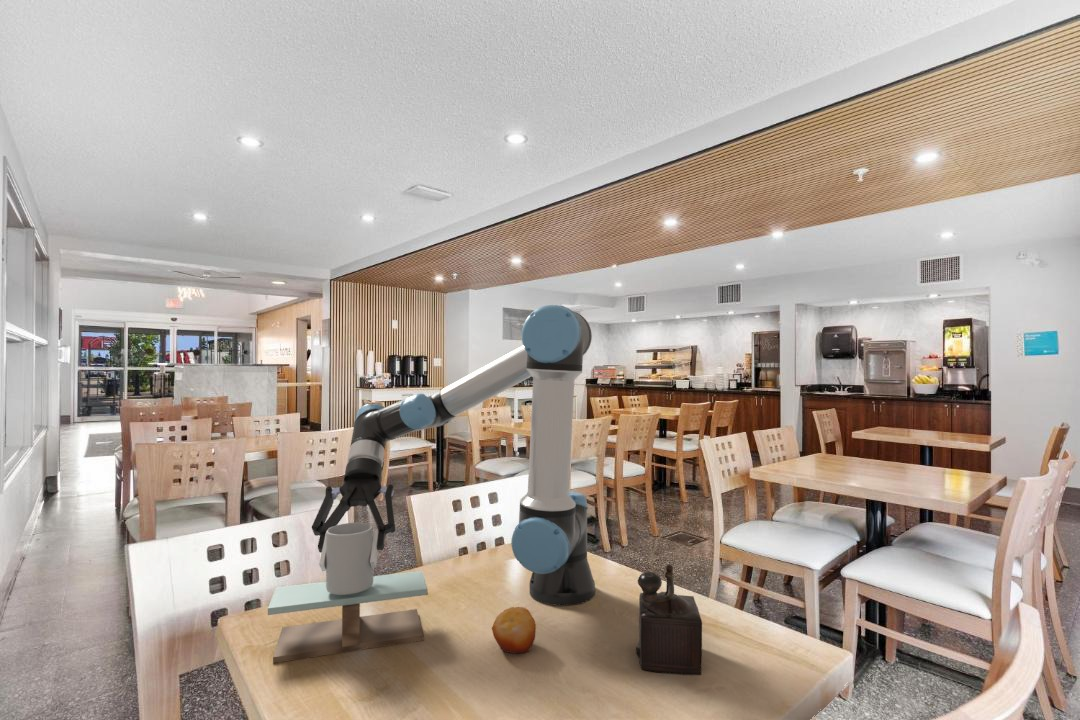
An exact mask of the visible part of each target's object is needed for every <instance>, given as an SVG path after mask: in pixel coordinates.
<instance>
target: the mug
mask: <svg viewBox="0 0 1080 720" xmlns="http://www.w3.org/2000/svg"><path fill="white" fill-rule="evenodd" d="M373 536H374V530H373V525H372V524H370V523H365V522H347V523H340V524H337V525H336V526H333V527H331V528H329V529H328V530H327V531H326V571H325V573H326V577H325V578H326V579H325V582H326V589H327V591H328V592H329V593H331V594H336V595H348V594H355V593H359V592H362V591H364V590H367V589H368V588H370V587H371V586H372V584H373V576H374V568H373V569H372V567H371V564H370V558H371V551H372V543H373Z"/></svg>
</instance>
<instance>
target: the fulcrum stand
mask: <svg viewBox="0 0 1080 720" xmlns="http://www.w3.org/2000/svg"><path fill="white" fill-rule="evenodd" d="M360 604H361V603H360ZM360 604H352V605H344V606H341V607H342V608H341V612H342V613H341V615H342V617H341V618H339V619H334V620H333V619H332V620H325V621H319V622H318V621H317V622H311V623H303V624H302V623H301V624H295V625H289V626H282V628H281V630H280V634H279V637H278V639H277V644H276V647H275V650H274V652H273V657H272V663H273V664H275V663H277V664H278V663H281V662H287V661H294V660H296V661H297V660H300V659H303V660H304V659H309V658H316V657H322V656H328V655H335V654H341V653H348V652H355V651H361V650H368V649H374V648H375V649H376V648H381V647H389V646H393V645H400V644H407V643H408V642H409V643H415V642H420V641H424V640H423V639H424V638H423V637H424V635H423V629H422V625H421V621H420V618H419V617H420V616H419V612H418V609H417V608H415V609H408V610H407V609H406V610H401V611H399V610H398V611H392V612H384V613H379V614H378V613H377V614H370V615H363V616H361V614H360V613H361V612H360V611H361V605H360Z"/></svg>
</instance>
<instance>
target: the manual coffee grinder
mask: <svg viewBox="0 0 1080 720" xmlns="http://www.w3.org/2000/svg"><path fill="white" fill-rule="evenodd" d="M665 569H666V570H665V574H664V576H665V579H666V586H665V587H666V591H660V592H658V591H659V590H660V588H661V587H662V585H663V584H662V578H661V576H660V575H659V573H656V572H653V571H646V572H645V571H644V572H642V573H640V574H639V577H638V578H637V584H638V586H639V587H640V589H641V590H642V592H640V593H639V596H638V600H639V603H638V605H639V606H638V608H639V609H638V610H639V612H638V645H637V646H635V655H636V656H637V657H638V661H639V665H640V668H641V671H642V670H643V671H646V672H647V671H648V672H652V673H660V674H671V675H672V674H673V675H684V676H690V675H691V676H697V675H698V676H700V675H702V659H703V655H702V654H703V620H702V618H701V613H700V611H699V607H698V605H697V603H696V600H695V597H694V596H693V595H679V594H677V593H675V583H674V573H673V571H674V566H673V565H672V564H667V565H666V566H665Z"/></svg>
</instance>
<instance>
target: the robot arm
mask: <svg viewBox="0 0 1080 720" xmlns="http://www.w3.org/2000/svg"><path fill="white" fill-rule="evenodd" d="M520 335H521V343H522V344H521V345H520V346H519V347H516V348H514V349H513V350H511V351H509V352H508V353H506V354H504V355H502V356H500V357H498V358H496V359H495V360H492V361H491V362H489V363H487V364H486V365H484V366H482V367H480V368H478V369H476V370H474V371H473V372H471V373H469V374H468V375H465V376H463V377H462V378H460V379H458V380H456V381H454V382H453V383H451V384H449V385H447V386H445V387H444V388H442V389H440V390H438V391H437V392H435V393H433V394H431V395H429V396H428V395H426V394H424V393H417V394H414V395H411V396H407V397H405V398H404V399H401V400H399V401H397V402H394V403H392V404H390V405H388V406H384V405H381V404H380V403H373V404H370V403H367V404H364V405H363V406H361V407H360V408H359V409H358V411H357V413H356V417H355V420H354V422H353V429H352V436H351V440H350V441H351V442H350V446H349V451H348V455H347V460H346V466H345V471H344V477H343V481H342V483H341V485H340V486H339V487H333V488H332V486H326V487H325V496H324V498H323V500H322V502H321V505H320V507H319V510H318V512H317V514H316V516H315V519H314V520H313V523H312V525H311V530H312V533H313V535H314V536H316V537H317V536H319V539H318V544H317V550H318V552H319V553H321V554H320V558H319V564H318V565H319V567H320V569H321V571H322V572H324V571H325V572H326V531H327V530H328V529H329V528H331V527H333V526H336V525H339V523H340V521H341V520H342V519H343V517H344V516H345V515H346V513H347V512H348V511H349V510H350V509H351V507H352V508H353V507H358V506H359V507H360V506H361V507H367V506H368V509H369V510H370V513H371V515H372V518H373V520H374V523H375V525H376V528H377V529H374V530H373V543H372V551H371V558H370V564H371V567H372V569H373V570H374V569H376V568H377V563H378V554H379V551H383V550H384V548H385V543H386V535H388V534H389V533H391V534H393V533H395V532H396V530H397V529H396V522H395V514H394V504H393V498H394V496H395V489H394V486H393V484H388V485H387V486H383V485H382V484H381V481H382V474H383V473H382V472H383V465H384V458H385V450H386V444H387V442H390V441H393V440H395V439H397V438H399V437H403V436H405V435H408V434H411V433H413V432H418V431H422V430H428V429H432V428H439V427H442V426H445V425H447V424H448V423H450V422H451V421H452V419H455V418H456V417H458V416H459V415H461V414H463V413H465V412H467V411H469V410H470V409H472V408H475V407H477V406H478V405H480V404H482V403H485V402H487V401H488V400H490V399H491V398H494V397H495V396H497V395H499V394H501V393H503V392H505V391H506V390H509V389H511V388H513V387H514V386H516V385H518V384H520V383H522V382H523V381H525V380H528V379H530V378H531V377H532V397H531V399H532V400H531V414H530V415H531V417H530V419H531V420H530V437H529V439H530V440H529V461H528V478H527V479H528V481H527V492H526V494H525V495H524V496H522V498H520V499H519V512H518V514H519V515H518V517H519V518H518V524H517V525H515V528H514V530H513V533H512V535H511V536H512V537H511V541H510V542H511V543H510V545H511V549H512V552H513V555H514V557H515V559H516V560H517V562H519V564H520V565H521V566H522V567H523V568H524V569H525V570H528V571H529V572H532V574H531V576H530V578H529V579H530V580H529V595H530V596H531V597H532V598H533V599H534V600H536V601H537V602H539V603H543V604H547V605H551V606H552V605H553V606H573V605H574V606H575V605H580V604H583V603H586V602H587V601H588V602H589V601H590V600H592V599H593V598H594V597H595V595H596V583H595V580H594V578H593V577H594V576H593V574H592V570H591V567H590V564H589V561H588V509H589V508H588V507H589V506H588V503H587V501H588V500H587V497H586V495H585V494H583V493H581V492H576V491H570V476H571V457H572V455H571V454H572V439H573V438H572V433H573V416H574V415H573V413H574V395H575V380H576V379H577V378H578V377H579V376H580V375H581V374H582V373H583V362H584V361H583V360H584V356H585V354H586V353H587V352H588V350H589V349H590V347H591V343H592V329H591V325H590V324H589V322H588V321H587V319H586V318H585V317H583V316H582V314H580V313H578V312H577V311H574V310H571V309H570V308H569V307H566V306H564V305H558V304H549V305H548V304H547V305H542V306H540V307H538V308H536V309H535V310H533V311H532V312H531V313H530V314H529V315H528V316H527V317H526V319H525V321H524V322H523V325H522V329H521V334H520ZM381 493H382V496H383V498H385V499H384V500H385V506H386V515H387V516H386V517H387V524H385V523H384V521H383V518H382V516H381V513H380V511H379V509H378V506H377V504H376V502H375V499H376V498H377V497H378V496H379V495H380V494H381ZM338 495H341V496H342V497H341V498H340V501H339V503H338V504H337V506H336V507H335V509H334V510H333V511H332V513H331V514H330V512H331V509H332V507H333V504H334V501H335V500H336V499H337V497H338ZM329 514H330V516H329ZM328 516H329V517H328Z"/></svg>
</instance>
